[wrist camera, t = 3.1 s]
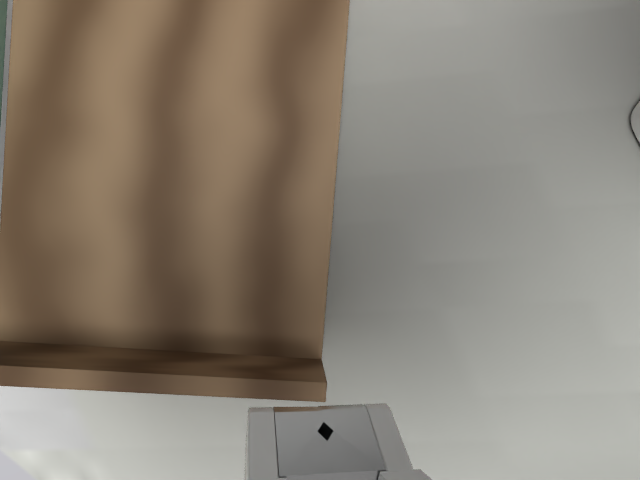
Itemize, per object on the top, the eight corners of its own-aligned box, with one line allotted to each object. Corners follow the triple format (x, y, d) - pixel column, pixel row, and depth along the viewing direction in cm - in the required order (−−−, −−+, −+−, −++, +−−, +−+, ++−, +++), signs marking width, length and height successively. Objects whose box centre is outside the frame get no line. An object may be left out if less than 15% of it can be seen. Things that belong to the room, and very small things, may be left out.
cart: (343, -14, 31) (365, -112, 22) (315, 351, 32) (325, 402, 23) (64, -46, 29) (-35, -165, 21) (42, 335, 30) (-64, 382, 21)
